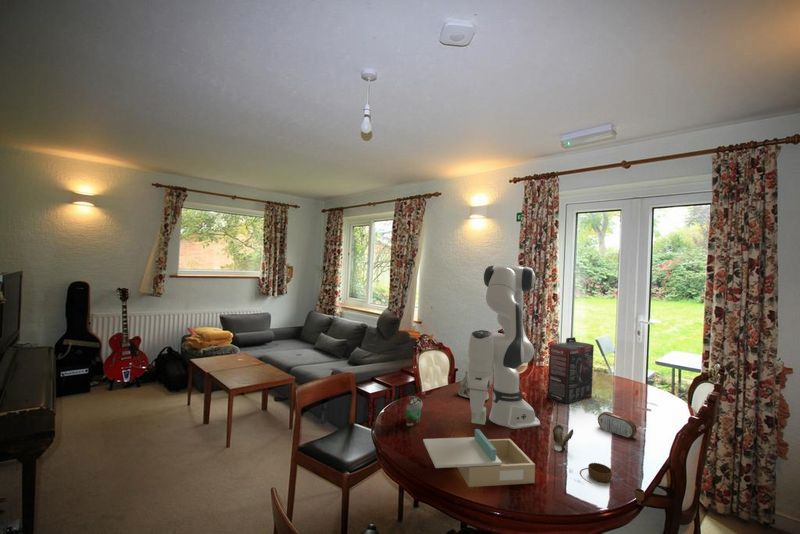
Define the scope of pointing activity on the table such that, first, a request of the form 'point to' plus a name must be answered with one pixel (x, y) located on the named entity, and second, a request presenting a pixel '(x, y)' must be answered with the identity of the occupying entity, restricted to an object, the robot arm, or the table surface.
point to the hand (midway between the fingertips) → (478, 416)
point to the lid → (462, 451)
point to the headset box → (570, 371)
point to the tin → (617, 424)
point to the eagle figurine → (560, 438)
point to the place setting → (608, 477)
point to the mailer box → (501, 467)
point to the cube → (483, 417)
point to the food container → (414, 411)
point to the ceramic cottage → (466, 387)
